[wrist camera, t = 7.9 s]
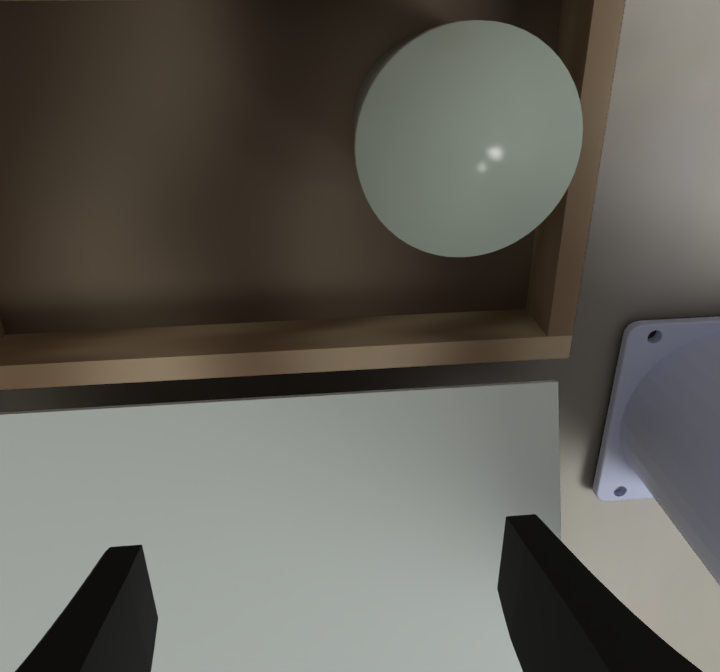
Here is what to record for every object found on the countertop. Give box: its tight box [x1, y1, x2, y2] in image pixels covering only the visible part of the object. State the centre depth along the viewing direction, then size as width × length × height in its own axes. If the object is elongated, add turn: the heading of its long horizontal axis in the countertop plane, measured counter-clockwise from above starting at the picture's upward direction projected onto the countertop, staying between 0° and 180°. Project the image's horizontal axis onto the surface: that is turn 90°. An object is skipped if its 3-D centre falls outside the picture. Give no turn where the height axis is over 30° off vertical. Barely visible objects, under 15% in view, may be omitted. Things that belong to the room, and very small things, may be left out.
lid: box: [0, 380, 561, 672], centre depth 20 cm, size 18×10×1 cm, turn 90°
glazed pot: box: [353, 20, 583, 257], centre depth 17 cm, size 5×5×4 cm
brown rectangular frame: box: [0, 0, 626, 390], centre depth 19 cm, size 19×20×5 cm
